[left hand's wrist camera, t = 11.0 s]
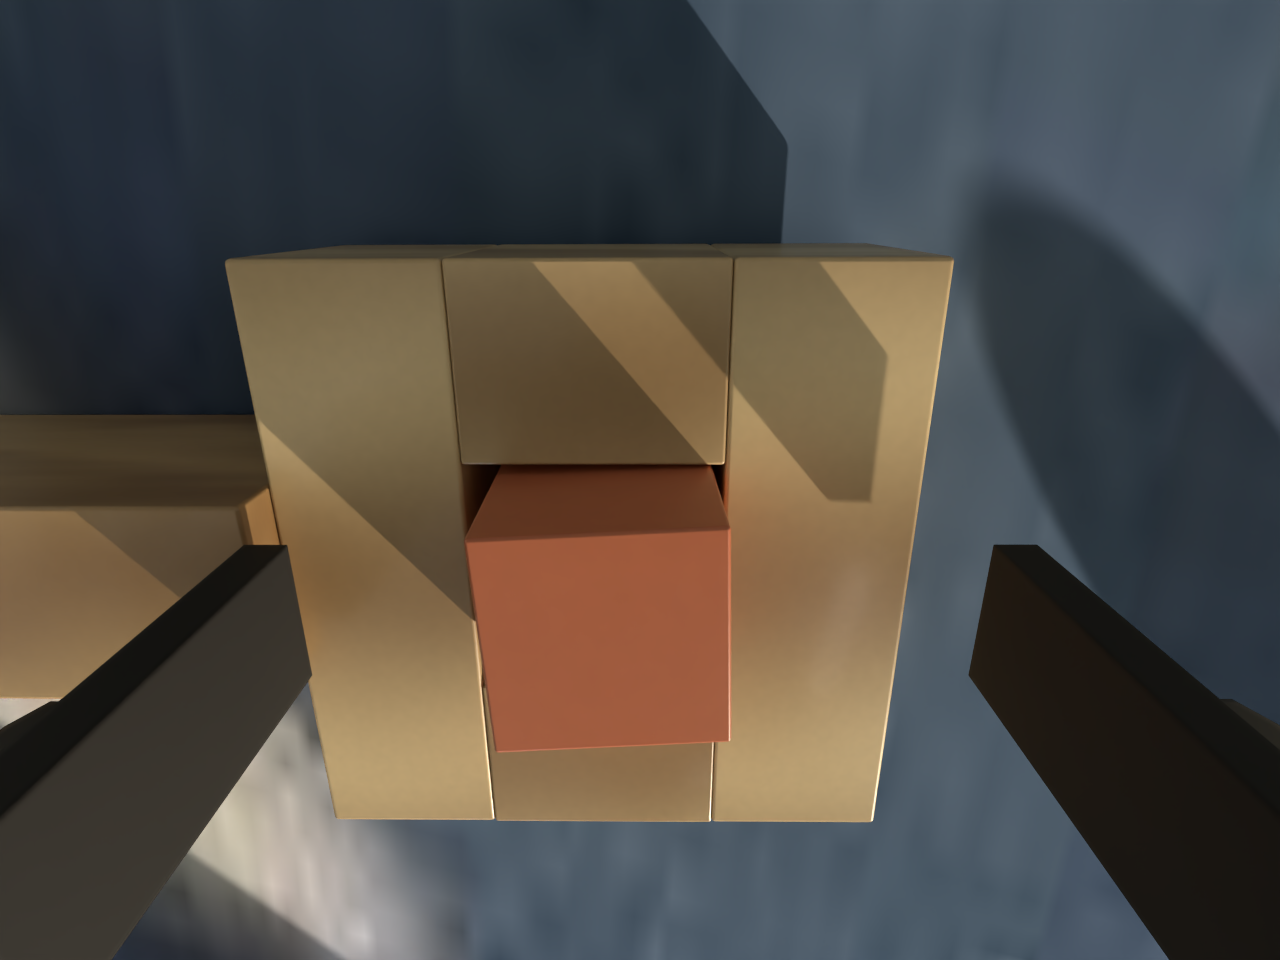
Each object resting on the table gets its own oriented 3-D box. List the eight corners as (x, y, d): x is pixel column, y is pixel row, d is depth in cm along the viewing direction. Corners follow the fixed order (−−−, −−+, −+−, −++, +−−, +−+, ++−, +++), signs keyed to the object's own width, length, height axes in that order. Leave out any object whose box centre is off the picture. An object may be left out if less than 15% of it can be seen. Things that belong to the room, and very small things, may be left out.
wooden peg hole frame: (822, 683, 21) (888, 862, 15) (-75, 680, 21) (-342, 854, 15) (868, 242, 16) (984, 260, 11) (-259, 246, 17) (-724, 265, 11)
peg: (692, 538, 20) (731, 742, 12) (546, 544, 20) (494, 754, 12) (689, 394, 18) (731, 526, 11) (531, 402, 18) (461, 540, 11)
